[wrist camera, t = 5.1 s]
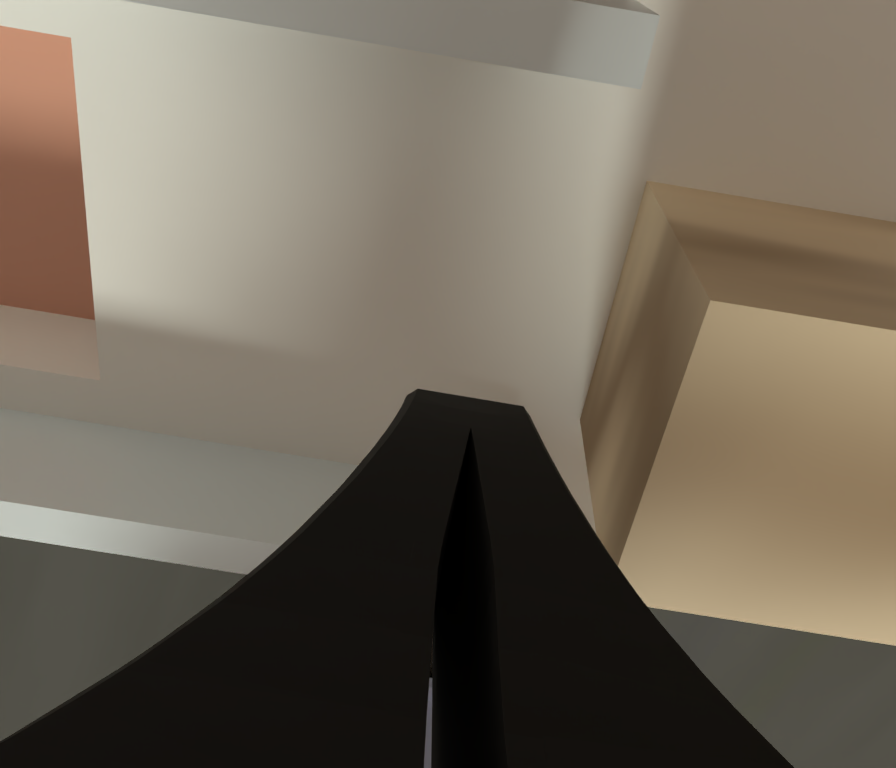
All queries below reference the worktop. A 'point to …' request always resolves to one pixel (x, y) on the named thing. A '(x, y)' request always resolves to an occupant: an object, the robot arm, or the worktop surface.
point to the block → (751, 414)
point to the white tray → (361, 227)
